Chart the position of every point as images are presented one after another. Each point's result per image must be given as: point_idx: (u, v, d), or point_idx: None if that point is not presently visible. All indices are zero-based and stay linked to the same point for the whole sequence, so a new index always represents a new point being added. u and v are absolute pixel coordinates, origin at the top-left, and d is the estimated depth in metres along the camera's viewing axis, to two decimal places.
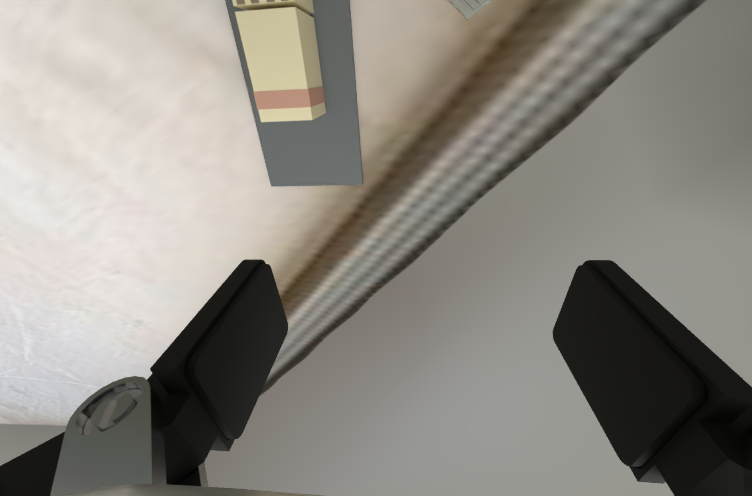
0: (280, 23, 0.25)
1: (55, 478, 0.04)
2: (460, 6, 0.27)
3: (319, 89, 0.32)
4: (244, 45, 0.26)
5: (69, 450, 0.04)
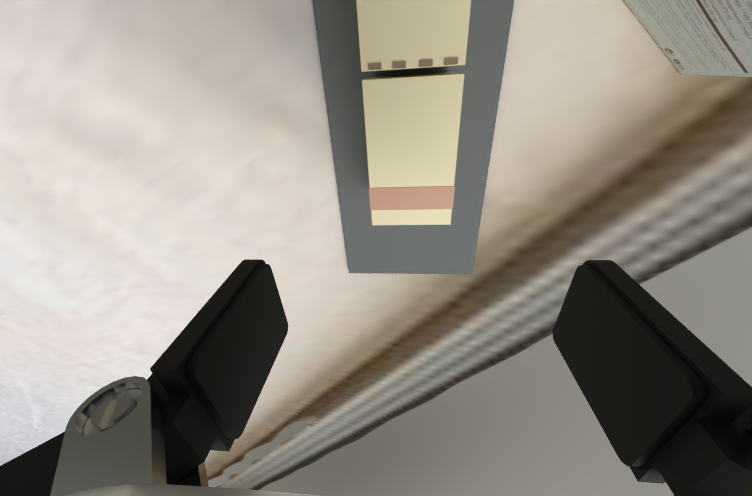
0: (434, 98, 0.16)
1: (55, 478, 0.04)
2: (696, 60, 0.18)
3: None
4: (367, 128, 0.17)
5: (69, 450, 0.04)
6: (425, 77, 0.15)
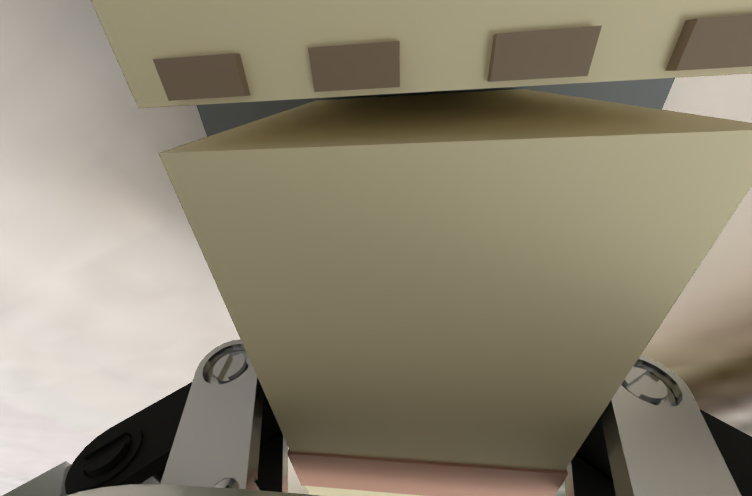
0: (550, 245, 0.03)
1: (183, 414, 0.05)
2: None
3: None
4: (242, 328, 0.04)
5: (195, 392, 0.05)
6: (520, 145, 0.03)
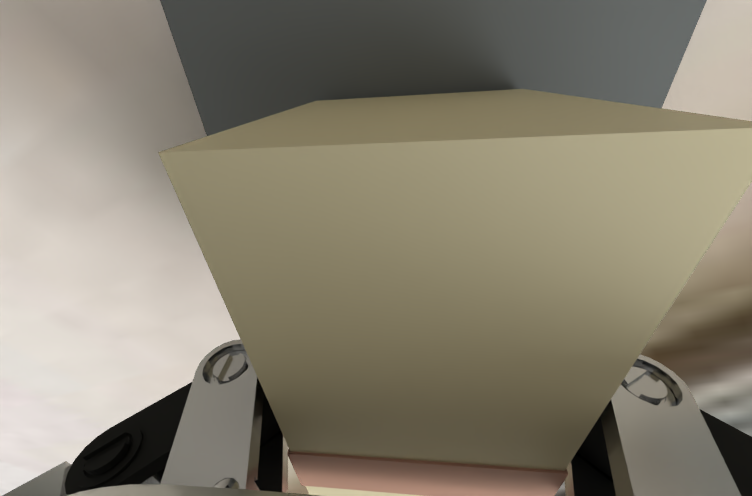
0: (550, 243, 0.03)
1: (183, 414, 0.05)
2: None
3: None
4: (242, 327, 0.04)
5: (195, 392, 0.05)
6: (519, 143, 0.03)
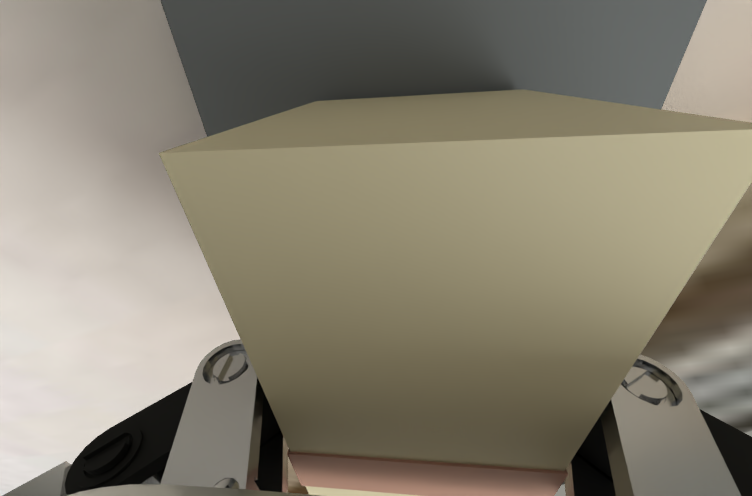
0: (550, 244, 0.03)
1: (183, 414, 0.05)
2: None
3: None
4: (243, 327, 0.04)
5: (195, 392, 0.05)
6: (519, 144, 0.03)
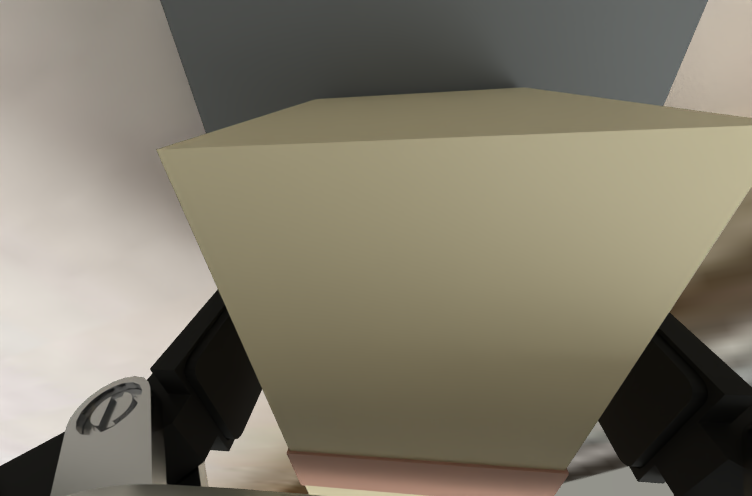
0: (552, 243, 0.03)
1: (55, 478, 0.04)
2: None
3: None
4: (241, 326, 0.04)
5: (69, 450, 0.04)
6: (521, 141, 0.03)
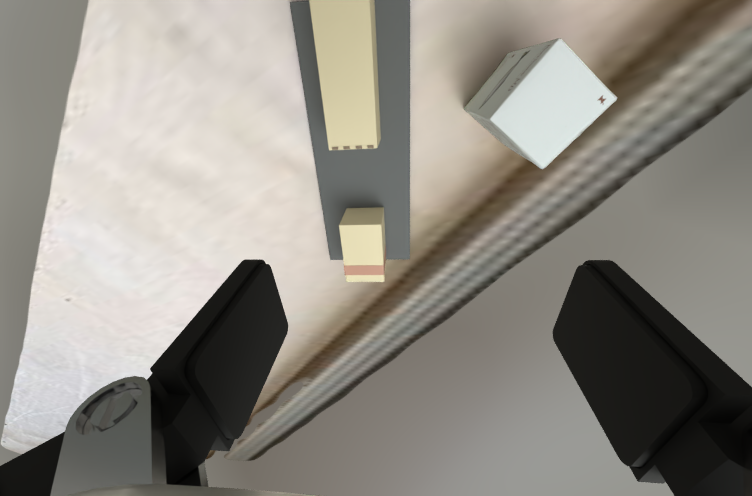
0: (369, 232, 0.37)
1: (55, 478, 0.04)
2: (500, 141, 0.35)
3: (385, 250, 0.43)
4: (341, 242, 0.38)
5: (69, 450, 0.04)
6: (365, 225, 0.37)
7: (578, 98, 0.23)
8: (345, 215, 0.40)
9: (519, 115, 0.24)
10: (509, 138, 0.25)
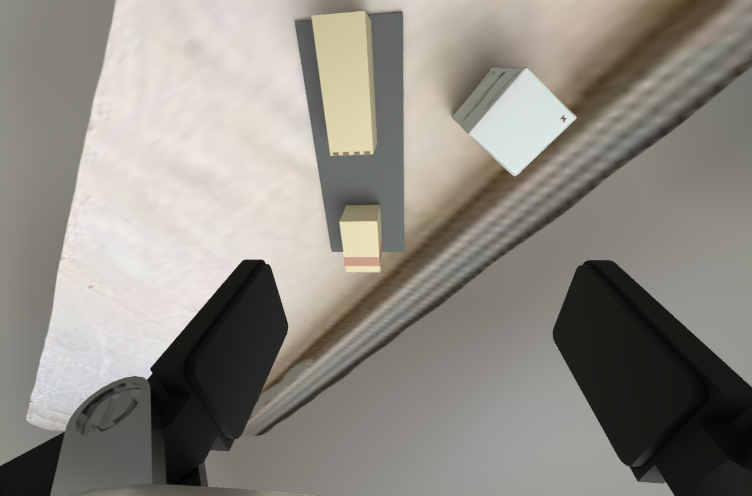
0: (367, 228, 0.41)
1: (55, 478, 0.04)
2: None
3: (381, 244, 0.48)
4: (342, 236, 0.43)
5: (69, 450, 0.04)
6: (363, 221, 0.41)
7: (544, 117, 0.27)
8: (345, 212, 0.44)
9: (493, 131, 0.28)
10: (486, 150, 0.29)
